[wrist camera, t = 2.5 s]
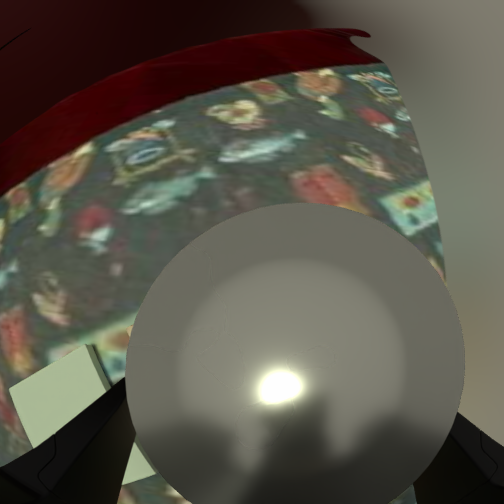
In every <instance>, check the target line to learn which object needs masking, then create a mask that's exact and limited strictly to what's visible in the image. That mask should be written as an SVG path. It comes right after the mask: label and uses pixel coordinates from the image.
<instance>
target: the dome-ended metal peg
mask: <svg viewBox="0 0 504 504" xmlns="http://www.w3.org/2000/svg"><path fill="white" fill-rule="evenodd" d="M464 373H465V351H464V341H463V335H462V329H461V324H460V321H459V317H458V314H457V311H456V308H455V305H454V303H453V301H452V299H451V296H450V294H449V291H448V289H447V288H446V286H445V284H444V282H443V281H442V279H441V277H440V276H439V274H438V273H437V271H436V270H435V269H434V267H433V266H432V265H431V263H430V262H429V261H428V260H427V258H426V257H425V256H424V255H423V254H422V253H421V252H420V251H419V250H418V249H417V248H416V247H415V246H414V245H413V244H412V243H410V242H409V241H408V240H407V239H405V238H404V237H403V236H402V235H400V234H399V233H398V232H396V231H395V230H393V229H391V228H390V227H388V226H386V225H385V224H383V223H381V222H380V221H378V220H375V219H373V218H371V217H369V216H366V215H364V214H362V213H359V212H356V211H352V210H349V209H346V208H342V207H337V206H331V205H326V204H316V203H289V204H278V205H273V206H267V207H262V208H258V209H255V210H251V211H248V212H245V213H242V214H239V215H236V216H234V217H232V218H230V219H228V220H226V221H224V222H221V223H219V224H217V225H216V226H214V227H212V228H211V229H209V230H208V231H206V232H204V233H203V234H201V235H200V236H198V237H197V238H196V239H194V240H193V241H192V242H191V243H190V244H188V245H187V246H186V247H185V248H183V249H182V250H181V251H180V252H179V253H178V254H177V255H176V256H175V257H174V258H173V259H172V260H171V261H170V263H169V264H168V265H167V266H166V267H165V268H164V269H163V271H162V272H161V273H160V275H159V276H158V278H157V279H156V280H155V282H154V283H153V285H152V286H151V287H150V289H149V291H148V293H147V295H146V297H145V299H144V301H143V302H142V304H141V306H140V308H139V311H138V314H137V316H136V319H135V322H134V325H133V328H132V330H131V335H130V340H129V344H128V349H127V355H126V371H125V381H126V393H127V402H128V406H129V411H130V415H131V419H132V423H133V425H134V428H135V431H136V433H137V436H138V438H139V440H140V443H141V445H142V447H143V449H144V450H145V452H146V454H147V455H148V457H149V459H150V460H151V462H152V464H153V465H154V466H155V468H156V469H157V470H158V471H159V473H160V474H161V475H162V476H163V478H164V479H165V480H166V481H167V482H168V483H169V484H170V485H171V486H172V487H173V488H174V489H175V490H176V491H177V492H178V493H179V494H181V495H182V496H183V497H184V498H185V499H186V500H188V501H189V502H191V503H192V504H387V503H389V502H390V501H392V500H393V499H395V498H396V497H397V496H399V495H400V494H401V493H402V492H404V491H405V490H406V489H407V488H408V487H409V486H410V485H411V484H412V483H413V482H414V481H416V480H417V478H418V477H419V476H420V475H421V474H422V473H423V472H424V470H425V469H426V468H427V467H428V466H429V464H430V463H431V462H432V460H433V459H434V457H435V456H436V455H437V453H438V451H439V450H440V448H441V447H442V445H443V443H444V441H445V439H446V437H447V435H448V433H449V431H450V429H451V427H452V425H453V422H454V419H455V416H456V414H457V411H458V408H459V404H460V399H461V394H462V390H463V384H464Z"/></svg>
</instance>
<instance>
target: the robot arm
mask: <svg viewBox="0 0 504 504" xmlns="http://www.w3.org/2000/svg"><path fill="white" fill-rule="evenodd" d="M135 437H136V431H135V428H134V425H133V423H132V419H131V415H130V411H129V406H128V402H127V393H126V381H125V377H124V378H122V379H121V380H120V381H119V382H117V383H116V384H115V385H114V386H112V387H111V388H110V389H109V390H108V391H106V392H105V393H104V394H103V395H101V396H100V397H99V398H98V399H96V400H95V401H94V402H93V403H92V404H90V405H89V406H88V407H87V408H85V409H84V410H83V411H82V412H80V413H79V414H78V415H77V416H75V417H74V418H73V419H72V420H70V421H69V422H68V423H67V424H65V425H64V426H63V427H62V428H60V429H59V430H58V431H56V432H55V434H53V435H51V436H50V437H49V438H47V439H46V440H45V441H43V442H42V443H41V444H39V445H38V446H36V447H35V448H33V449H32V450H30V451H29V452H27V453H25V454H24V455H22V456H20V457H19V458H17V459H15V460H13V461H12V462H10V463H8V464H6V465H4V466H2V467H0V504H117V501H118V497H119V493H120V490H121V486H122V482H123V479H124V475H125V471H126V468H127V464H128V461H129V458H130V454H131V451H132V447H133V444H134V441H135ZM413 486H414V491H415V496H416V501H417V504H504V447H503V446H502V445H500V444H499V443H497V442H496V441H495V440H493V439H492V438H490V437H489V436H488V435H487V434H485V433H484V432H483V431H480V429H479V428H477V427H476V426H475V425H474V424H472V423H471V422H470V421H469V420H467V419H466V418H465V417H464V416H462V415H461V414H460V413H458V412H457V414H456V416H455V419H454V422H453V425H452V427H451V429H450V431H449V433H448V435H447V437H446V439H445V441H444V443H443V445H442V447H441V448H440V450H439V451H438V453H437V455H436V456H435V457H434V459H433V460H432V462H431V463H430V464H429V466H428V467H427V468H426V469H425V470H424V472H423V473H422V474H421V475H420V476H419V477H418V478H417V480H416V481H414V482H413Z"/></svg>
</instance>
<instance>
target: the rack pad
mask: <svg viewBox="0 0 504 504" xmlns="http://www.w3.org/2000/svg"><path fill="white" fill-rule="evenodd" d="M110 388H111V387H110V385H109V383H108V380H107V378H106V376H105V374H104V372H103V370H102V368H101V365H100V363H99V361H98V359H97V356H96V354H95V352H94V349H93V347H92V346H91V345H87V344H84V345H83V346H81V347H79V348H78V349H76V350H74V351H72V352H71V353H69V354H67V355H66V356H64V357H62V358H60V359H59V360H57V361H55V362H54V363H52V364H50V365H49V366H47V367H45V368H43V369H42V370H40V371H38V372H37V373H35V374H33V375H32V376H30V377H28V378H26V379H25V380H23V381H21V382H20V383H18V384H16V385H15V386H13V387H11V388H9V391H10V394H11V396H12V399H13V402H14V405H15V407H16V410H17V412H18V415H19V417H20V420H21V422H22V424H23V427H24V429H25V431H26V433H27V436H28V438H29V440H30V442H31V444H32V446H33V448H35V447H36V446H38V445H39V444H41V443H42V442H43V441H45V440H46V439H47V438H49V437H50V436H51V435H53V434H55V432H56V431H58V430H59V429H60V428H62V427H63V426H64V425H65V424H67V423H68V422H69V421H70V420H72V419H73V418H74V417H75V416H77V415H78V414H79V413H80V412H82V411H83V410H84V409H85V408H87V407H88V406H89V405H90V404H92V403H93V402H94V401H95V400H96V399H98V398H99V397H100V396H101V395H103V394H104V393H105V392H106V391H108V390H109V389H110ZM157 472H158V470H157V469H156V468H155V466H154V465H153V464H152V462H151V460H150V459H149V457H148V455H147V454H146V452H145V450H144V449H143V447H142V445H141V443H140V440H139V438H138V436H137V434H136V437H135V441H134V444H133V447H132V451H131V454H130V458H129V461H128V464H127V468H126V471H125V475H124V479H123V482H122V485H123V484H126V483H130V482H133V481H136V480H139V479H142V478H145V477H148V476H151V475H154V474H156V473H157Z"/></svg>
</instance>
